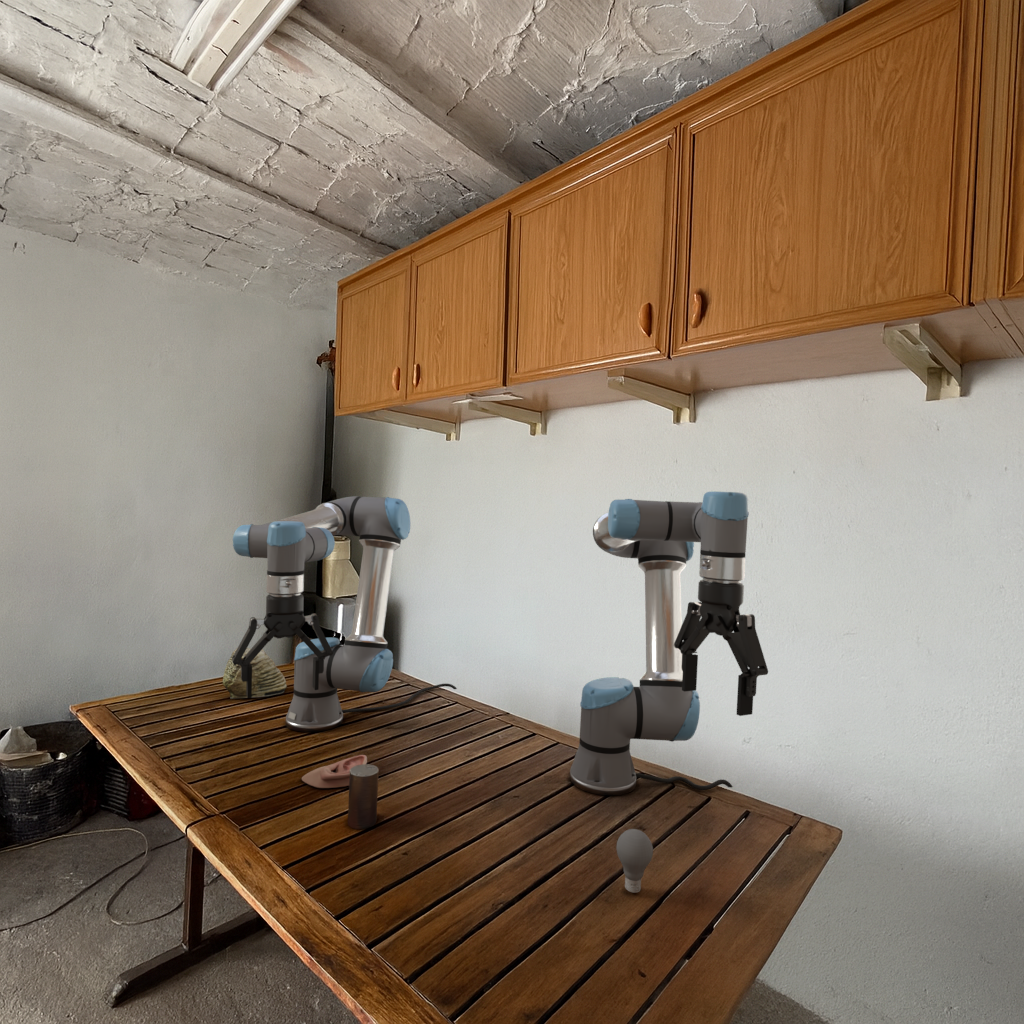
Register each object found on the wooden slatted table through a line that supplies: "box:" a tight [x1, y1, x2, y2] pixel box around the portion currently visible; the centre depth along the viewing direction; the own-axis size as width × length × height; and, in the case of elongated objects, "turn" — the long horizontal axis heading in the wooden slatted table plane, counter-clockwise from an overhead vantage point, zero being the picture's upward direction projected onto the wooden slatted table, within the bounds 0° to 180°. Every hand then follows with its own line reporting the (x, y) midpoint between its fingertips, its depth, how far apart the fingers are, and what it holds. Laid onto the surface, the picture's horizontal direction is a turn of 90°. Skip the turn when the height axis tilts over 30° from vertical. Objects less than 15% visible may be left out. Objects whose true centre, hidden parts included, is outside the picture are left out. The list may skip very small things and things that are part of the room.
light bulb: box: [615, 828, 654, 894], centre depth 106 cm, size 6×6×10 cm
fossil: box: [222, 647, 288, 699], centre depth 198 cm, size 9×18×15 cm, turn 132°
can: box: [347, 763, 380, 830], centre depth 124 cm, size 6×6×10 cm
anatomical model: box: [301, 754, 368, 789], centre depth 143 cm, size 13×4×12 cm
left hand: (282, 692), depth 136 cm, fingers open, 13 cm apart
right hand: (715, 701), depth 110 cm, fingers open, 13 cm apart
